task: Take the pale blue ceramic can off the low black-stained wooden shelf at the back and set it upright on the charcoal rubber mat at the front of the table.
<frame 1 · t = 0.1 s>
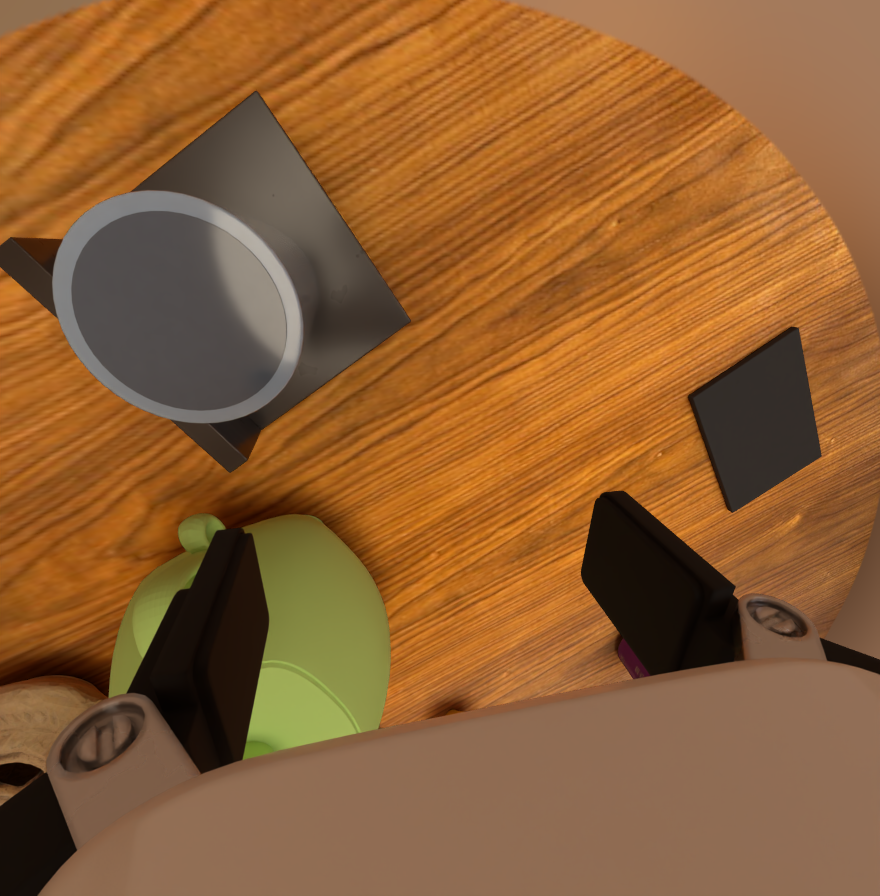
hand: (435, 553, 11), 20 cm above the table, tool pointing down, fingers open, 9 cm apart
shelf: (265, 284, 26), on the table
mat: (756, 427, 39), on the table
beverage can: (641, 635, 49), on the table
teapot: (261, 607, 36), on the table
blue cup: (250, 291, 22), point 5 cm above the table, touching shelf
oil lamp: (50, 702, 36), on the table
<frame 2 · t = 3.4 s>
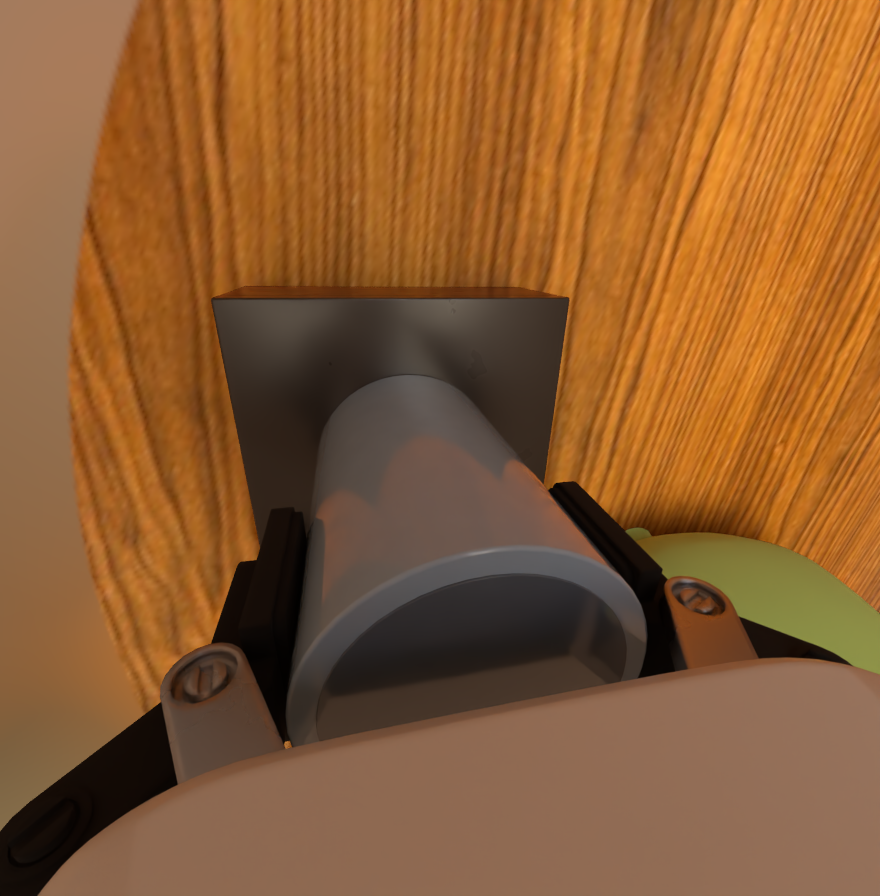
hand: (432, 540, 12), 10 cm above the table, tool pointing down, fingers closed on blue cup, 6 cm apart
shelf: (394, 416, 21), on the table
teapot: (649, 623, 32), on the table
blue cup: (407, 459, 17), point 5 cm above the table, touching gripper, shelf
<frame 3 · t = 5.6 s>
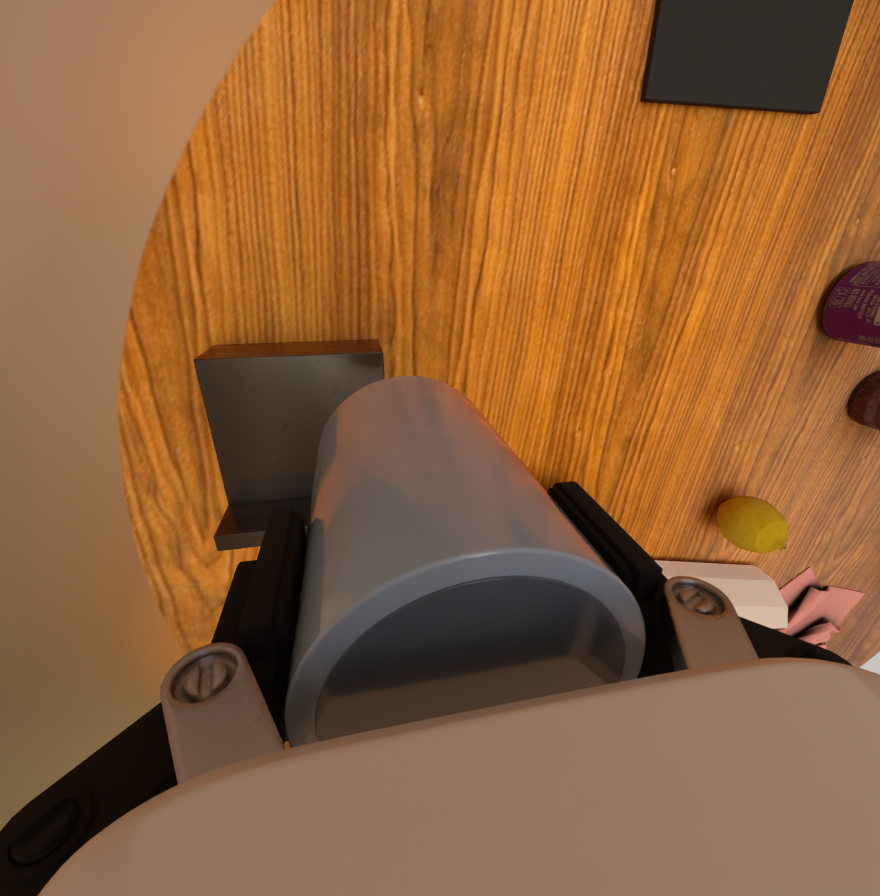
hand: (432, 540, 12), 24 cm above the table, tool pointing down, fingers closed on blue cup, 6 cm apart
shelf: (308, 415, 35), on the table
mat: (750, 18, 29), on the table
crystal: (674, 581, 53), on the table
beverage can: (845, 301, 41), on the table
can: (867, 395, 46), on the table
blue cup: (406, 459, 17), point 19 cm above the table, touching gripper
cloth: (793, 622, 62), on the table
fruit: (720, 503, 49), on the table
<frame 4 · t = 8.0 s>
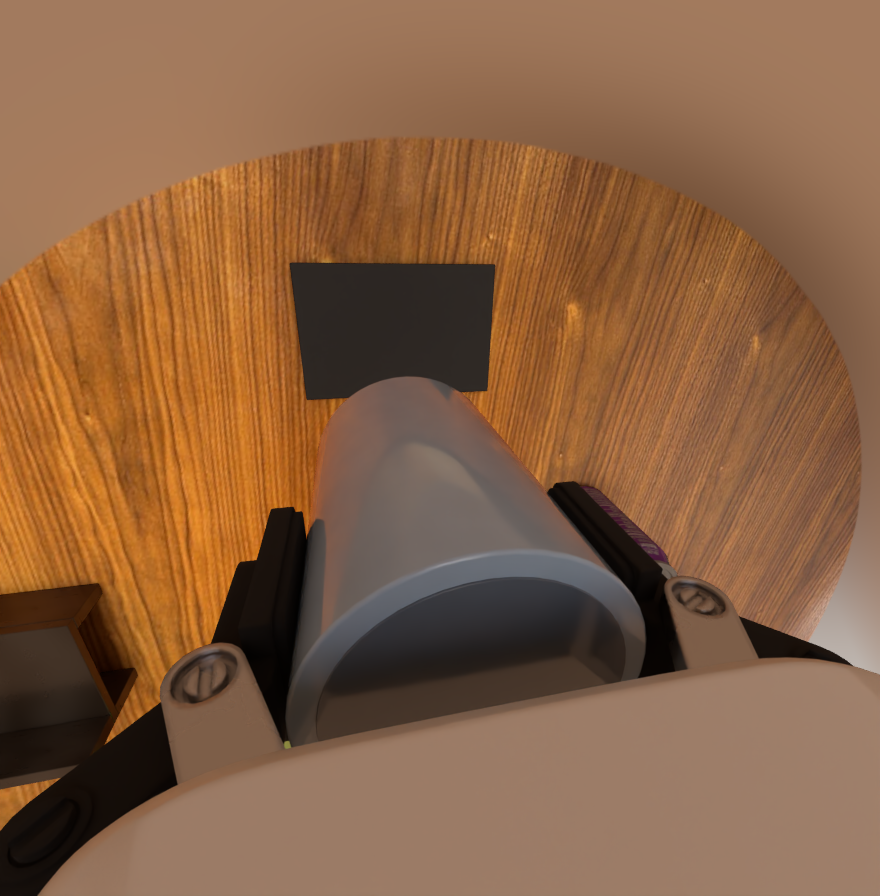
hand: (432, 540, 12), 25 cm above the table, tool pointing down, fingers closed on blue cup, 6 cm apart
shelf: (45, 642, 39), on the table
mat: (398, 332, 33), on the table
beverage can: (571, 510, 45), on the table
blue cup: (407, 460, 17), point 19 cm above the table, touching gripper
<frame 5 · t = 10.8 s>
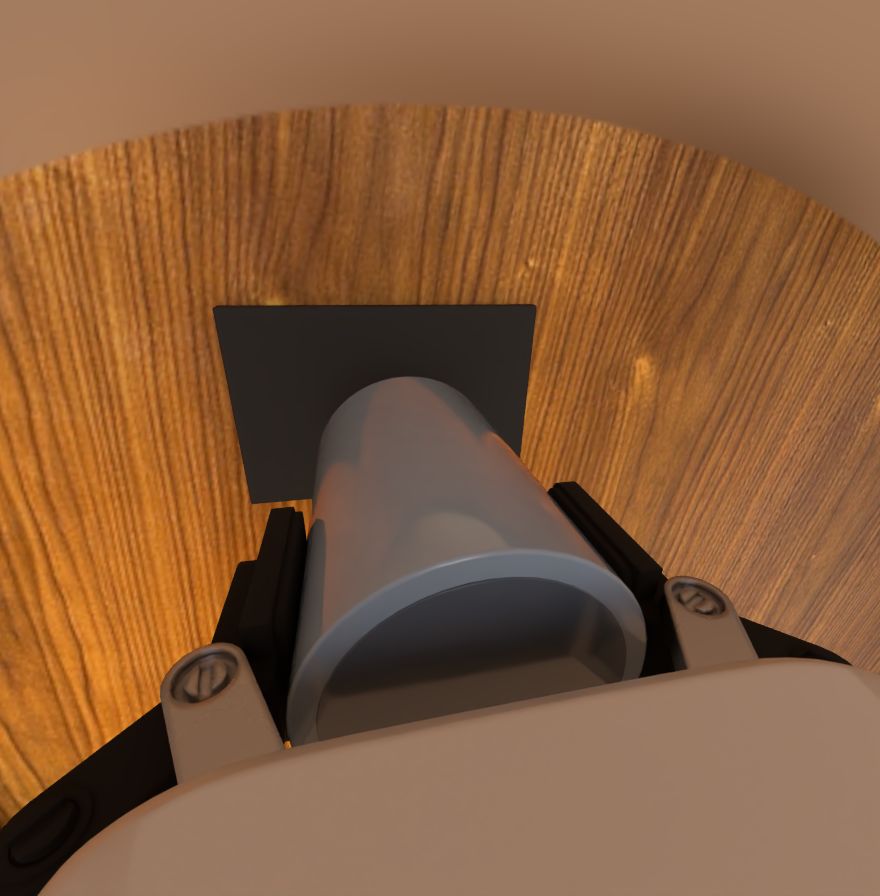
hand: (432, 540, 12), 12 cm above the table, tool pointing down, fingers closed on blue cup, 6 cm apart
mat: (388, 404, 22), on the table
blue cup: (407, 460, 17), point 6 cm above the table, touching gripper
when the fingers open (6 cm above the table, at t = 12.8 s): blue cup stays where it is, resting on mat.
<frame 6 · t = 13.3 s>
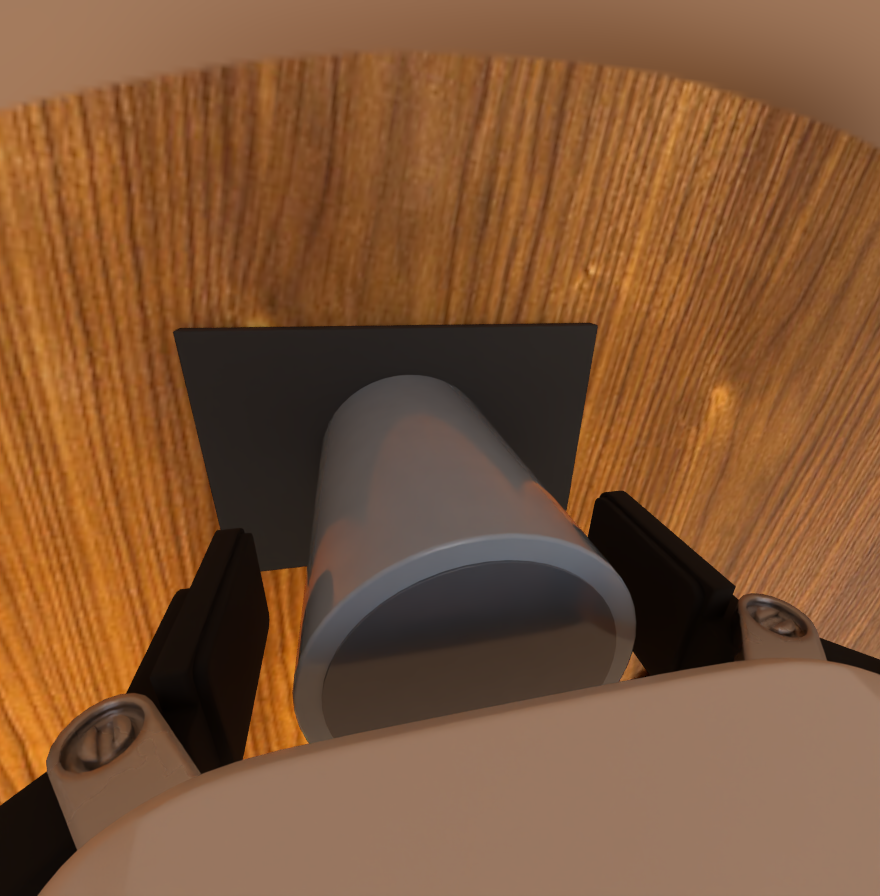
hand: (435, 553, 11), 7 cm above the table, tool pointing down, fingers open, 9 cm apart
mat: (405, 449, 18), on the table
blue cup: (408, 456, 17), point 1 cm above the table, touching mat
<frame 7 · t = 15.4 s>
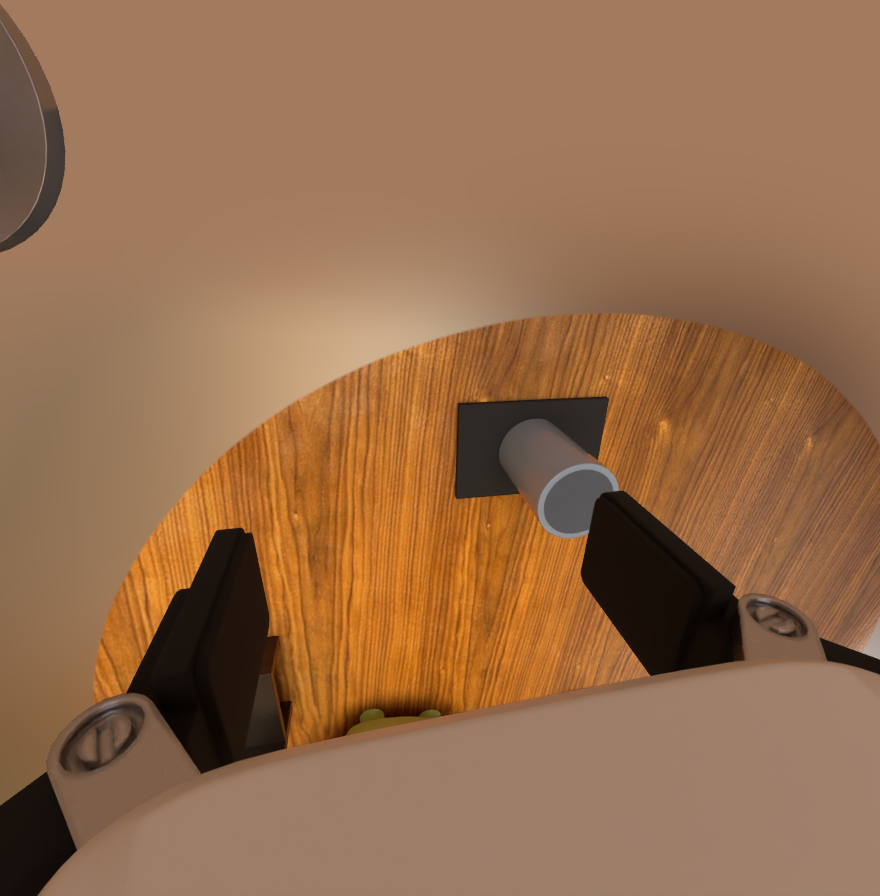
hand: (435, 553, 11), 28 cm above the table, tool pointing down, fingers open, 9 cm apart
shelf: (230, 681, 48), on the table
mat: (529, 447, 43), on the table
teapot: (401, 748, 59), on the table
blue cup: (531, 450, 42), point 1 cm above the table, touching mat
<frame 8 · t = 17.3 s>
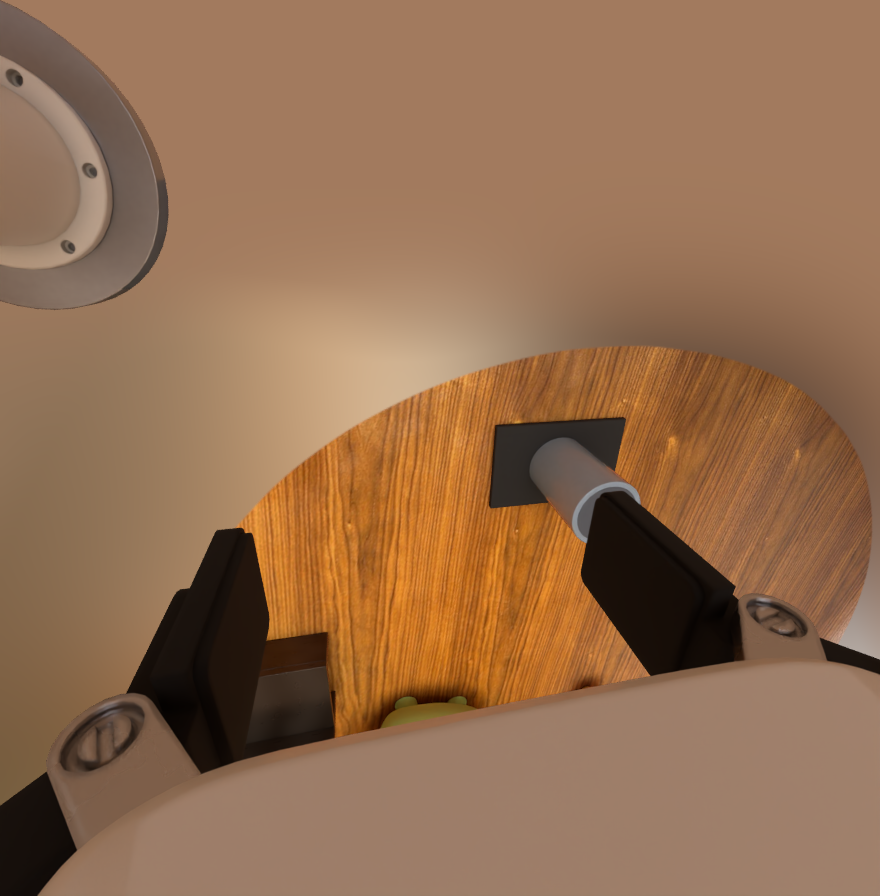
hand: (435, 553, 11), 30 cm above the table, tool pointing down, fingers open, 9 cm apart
shelf: (282, 673, 53), on the table
mat: (555, 462, 48), on the table
teapot: (430, 732, 64), on the table
blue cup: (557, 464, 48), point 1 cm above the table, touching mat
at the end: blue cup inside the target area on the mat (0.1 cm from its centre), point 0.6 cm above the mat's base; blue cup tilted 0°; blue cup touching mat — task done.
